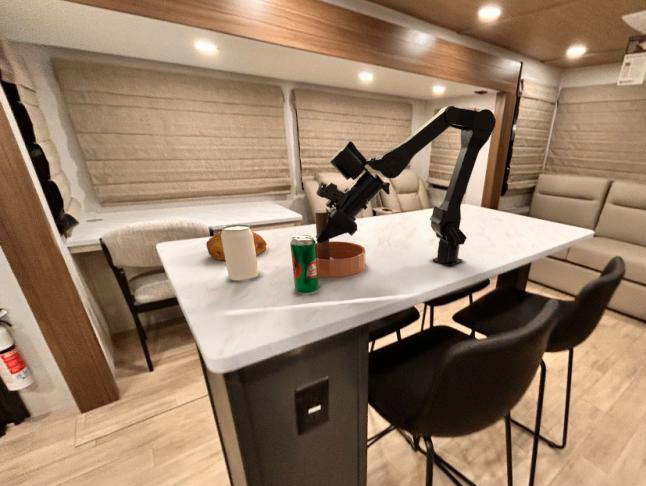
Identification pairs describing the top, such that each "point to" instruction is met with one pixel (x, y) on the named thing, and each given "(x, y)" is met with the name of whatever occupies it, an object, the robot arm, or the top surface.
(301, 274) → the soda can
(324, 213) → the brown tall block
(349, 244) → the bowl
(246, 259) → the can
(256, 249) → the croissant
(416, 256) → the top surface
